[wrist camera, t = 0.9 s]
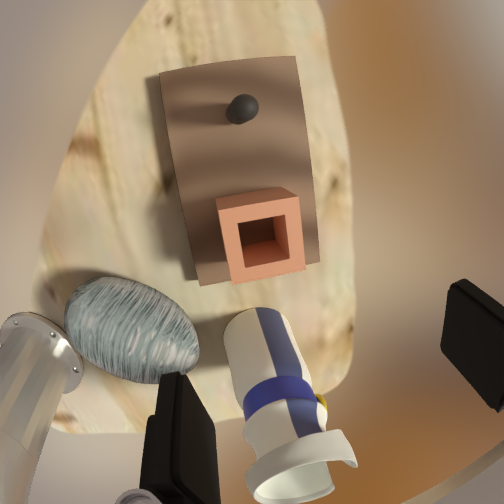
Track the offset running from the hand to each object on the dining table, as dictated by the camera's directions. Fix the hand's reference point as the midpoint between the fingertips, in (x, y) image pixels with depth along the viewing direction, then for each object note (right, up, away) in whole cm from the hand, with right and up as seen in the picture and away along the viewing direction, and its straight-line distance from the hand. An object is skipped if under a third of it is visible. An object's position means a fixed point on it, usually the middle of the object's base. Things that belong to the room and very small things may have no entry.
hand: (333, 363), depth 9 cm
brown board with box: (-3, +11, +18) cm, 22 cm away
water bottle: (-2, -6, +25) cm, 26 cm away
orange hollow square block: (-2, +6, +19) cm, 20 cm away
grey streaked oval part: (-15, -3, +22) cm, 26 cm away
